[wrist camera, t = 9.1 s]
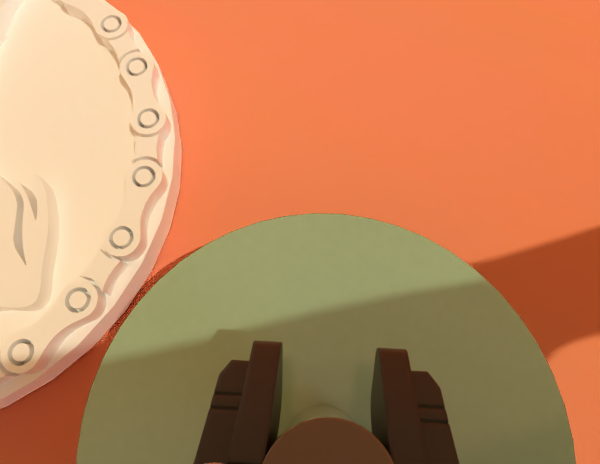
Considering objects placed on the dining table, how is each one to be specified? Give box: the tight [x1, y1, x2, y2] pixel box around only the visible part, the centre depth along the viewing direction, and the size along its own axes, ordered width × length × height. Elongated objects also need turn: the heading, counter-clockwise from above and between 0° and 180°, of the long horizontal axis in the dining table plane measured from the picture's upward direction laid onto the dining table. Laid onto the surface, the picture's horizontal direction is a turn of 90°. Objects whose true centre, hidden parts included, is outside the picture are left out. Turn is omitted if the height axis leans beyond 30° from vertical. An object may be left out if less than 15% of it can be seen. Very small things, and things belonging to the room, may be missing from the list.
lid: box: [76, 213, 576, 464], centre depth 12 cm, size 15×15×8 cm
